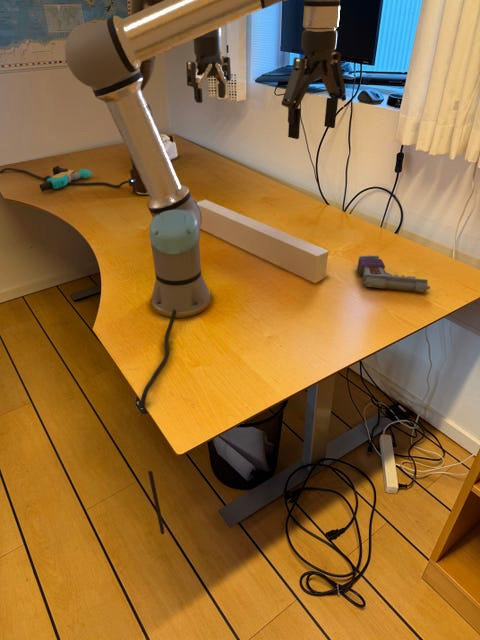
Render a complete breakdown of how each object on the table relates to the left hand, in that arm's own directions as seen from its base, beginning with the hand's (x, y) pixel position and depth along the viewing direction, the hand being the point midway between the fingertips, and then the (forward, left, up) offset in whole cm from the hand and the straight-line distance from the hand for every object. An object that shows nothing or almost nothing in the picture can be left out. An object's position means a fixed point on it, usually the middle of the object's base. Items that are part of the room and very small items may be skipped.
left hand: (210, 100), depth 136 cm
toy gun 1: (-81, +18, -41) cm, 93 cm away
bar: (+17, -7, -41) cm, 45 cm away
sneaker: (-54, +55, -41) cm, 87 cm away
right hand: (+34, -16, -2) cm, 38 cm away
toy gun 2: (+59, -11, -41) cm, 73 cm away
